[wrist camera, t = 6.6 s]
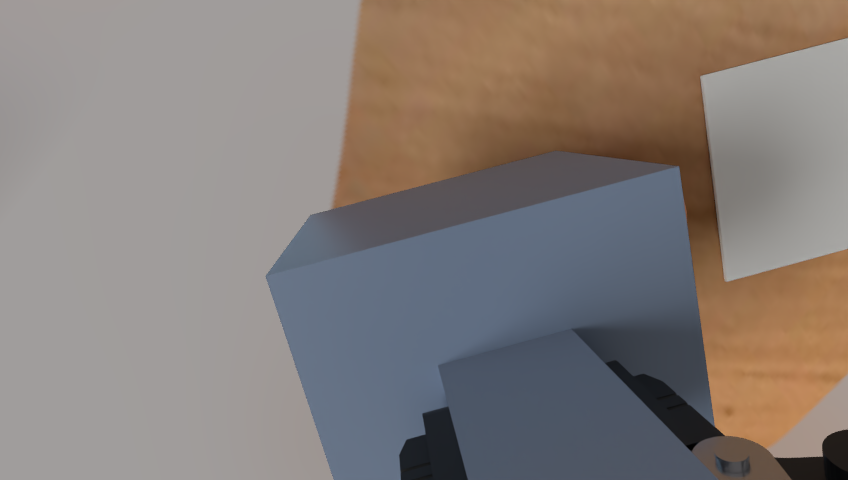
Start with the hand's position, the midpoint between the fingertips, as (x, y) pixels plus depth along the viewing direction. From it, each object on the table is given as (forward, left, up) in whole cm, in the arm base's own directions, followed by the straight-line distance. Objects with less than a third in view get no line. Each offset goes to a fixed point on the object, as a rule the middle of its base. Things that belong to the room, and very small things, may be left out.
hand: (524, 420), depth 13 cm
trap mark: (0, +22, -17) cm, 28 cm away
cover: (0, 0, -9) cm, 9 cm away
